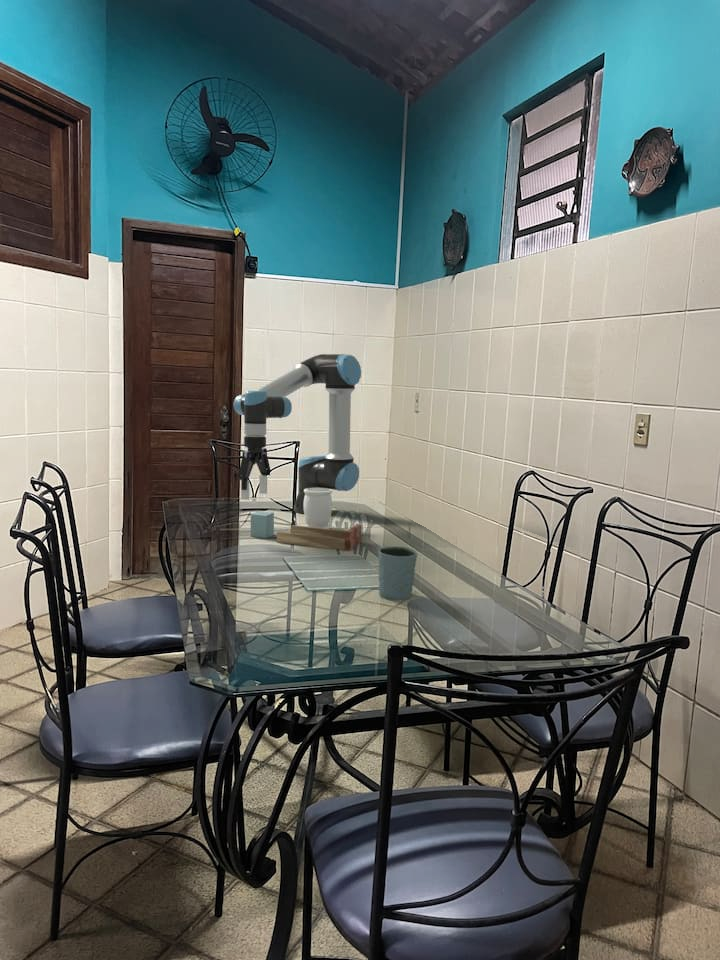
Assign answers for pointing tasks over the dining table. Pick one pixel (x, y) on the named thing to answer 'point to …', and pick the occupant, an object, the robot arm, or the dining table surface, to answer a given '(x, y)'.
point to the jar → (317, 507)
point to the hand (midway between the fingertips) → (254, 496)
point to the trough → (321, 537)
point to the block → (262, 524)
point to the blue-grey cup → (396, 572)
